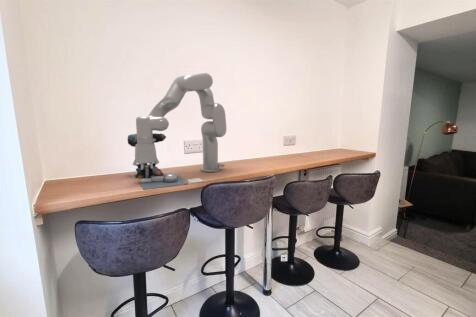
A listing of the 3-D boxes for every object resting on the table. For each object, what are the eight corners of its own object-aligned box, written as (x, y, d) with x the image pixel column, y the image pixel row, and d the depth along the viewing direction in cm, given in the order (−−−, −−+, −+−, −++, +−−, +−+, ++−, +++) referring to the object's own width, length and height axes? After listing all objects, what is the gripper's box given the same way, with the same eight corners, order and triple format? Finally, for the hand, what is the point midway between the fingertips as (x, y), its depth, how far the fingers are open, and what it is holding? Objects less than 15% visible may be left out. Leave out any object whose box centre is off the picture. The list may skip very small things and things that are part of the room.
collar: (178, 178, 131) (177, 172, 130) (176, 182, 124) (176, 175, 123) (142, 179, 129) (141, 172, 128) (138, 182, 122) (138, 176, 121)
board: (178, 176, 139) (178, 175, 139) (188, 184, 123) (188, 183, 123) (137, 180, 128) (137, 180, 128) (143, 189, 112) (143, 189, 112)
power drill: (165, 178, 131) (162, 133, 127) (127, 177, 135) (123, 133, 131) (172, 175, 139) (170, 132, 135) (137, 173, 144) (133, 132, 140)
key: (149, 179, 127) (148, 164, 126) (150, 180, 125) (149, 165, 123) (144, 179, 126) (143, 165, 124) (144, 181, 123) (144, 166, 122)
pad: (199, 178, 134) (199, 178, 133) (203, 181, 128) (203, 181, 128) (186, 180, 130) (186, 179, 130) (191, 183, 124) (191, 182, 124)
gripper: (159, 140, 129) (161, 173, 132) (127, 141, 121) (129, 176, 124) (163, 141, 123) (164, 176, 126) (128, 142, 115) (130, 179, 118)
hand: (147, 175), depth 125 cm, fingers closed on key, 2 cm apart
